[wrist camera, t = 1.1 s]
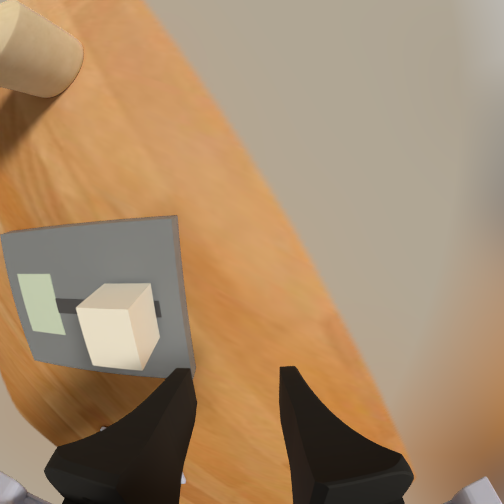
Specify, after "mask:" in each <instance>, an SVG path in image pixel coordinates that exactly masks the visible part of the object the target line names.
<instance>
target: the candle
mask: <svg viewBox="0 0 504 504" xmlns="http://www.w3.org/2000/svg"><path fill="white" fill-rule="evenodd" d="M83 57H84V50H83V46H82V44H81V43H80V41H79V40H78V39H76V38H75V37H74V36H72V35H71V34H69V33H68V32H66V31H65V30H63V29H62V28H60V27H59V26H57V25H56V24H54V23H53V22H51V21H50V20H48V19H46V18H45V17H43V16H42V15H40V14H38V13H37V12H35V11H34V10H32V9H30V8H29V7H27V6H25V5H24V4H22V3H20V2H18V1H17V0H8V1H5V2H3V3H1V4H0V87H3V88H7V89H11V90H15V91H19V92H23V93H26V94H30V95H34V96H38V97H42V98H49V97H54V96H56V95H58V94H60V93H61V92H63V91H64V90H65V89H66V88H67V87H68V86H69V85H70V84H71V83H72V82H73V81H74V79H75V78H76V76H77V74H78V73H79V70H80V68H81V66H82V62H83Z"/></svg>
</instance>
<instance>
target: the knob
mask: <svg viewBox="0 0 504 504" xmlns="http://www.w3.org/2000/svg"><path fill="white" fill-rule="evenodd" d="M76 311H77V315H78V318H79V322H80V326H81V329H82V333H83V336H84V339H85V343H86V346H87V349H88V352H89V355H90V358H91V361H92V364H93V365H94V366H102V367H110V368H119V369H129V370H140V371H143V369H144V367H145V365H146V363H147V361H148V359H149V357H150V355H151V354H152V352H153V350H154V348H155V346H156V344H157V342H158V340H159V338H160V335H159V329H158V324H157V319H156V313H155V307H154V301H153V295H152V289H151V283H121V284H103V285H102V286H101V287H100V288H98V289H97V290H96V291H95V292H93V293H92V294H91V295H90V296H89V297H87V298H86V299H85V300H84V301H83V302H82V303H80V304H79V305H78V306H77V307H76Z"/></svg>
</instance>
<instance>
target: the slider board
mask: <svg viewBox="0 0 504 504" xmlns="http://www.w3.org/2000/svg"><path fill="white" fill-rule="evenodd" d="M0 236H1V242H2V248H3V254H4V259H5V264H6V269H7V273H8V277H9V282H10V286H11V290H12V294H13V297H14V301H15V304H16V308H17V311H18V315H19V318H20V321H21V324H22V327H23V330H24V333H25V336H26V339H27V341H28V344H29V347H30V350H31V352H32V355H33V357H34V360H36V361H41V362H46V363H51V364H56V365H61V366H67V367H72V368H78V369H85V370H92V371H99V372H106V373H114V374H123V375H133V376H144V377H157V378H167V377H168V376H169V375H170V374H171V373H172V372H173V371H174V370H175V369H176V368H190V369H191V374H192V379H193V377H194V373H195V370H196V365H195V359H194V353H193V346H192V340H191V333H190V326H189V319H188V312H187V304H186V296H185V288H184V280H183V271H182V261H181V251H180V241H179V229H178V217H177V215H174V216H159V217H145V218H132V219H120V220H108V221H97V222H87V223H77V224H67V225H58V226H49V227H40V228H32V229H23V230H16V231H10V232H7V233H4V234H1V235H0ZM121 283H151V289H152V295H153V301H154V307H155V313H156V319H157V324H158V329H159V335H160V338H159V340H158V342H157V344H156V346H155V348H154V350H153V352H152V354H151V355H150V357H149V359H148V361H147V363H146V365H145V367H144V369H143V371H140V370H129V369H119V368H110V367H102V366H94V365H93V364H92V361H91V358H90V355H89V352H88V349H87V346H86V343H85V339H84V336H83V333H82V329H81V326H80V322H79V318H78V315H77V311H76V307H77V306H78V305H79V304H80V303H82V302H83V301H84V300H85V299H86V298H87V297H89V296H90V295H91V294H92V293H93V292H95V291H96V290H97V289H98V288H100V287H101V286H102V285H103V284H121Z"/></svg>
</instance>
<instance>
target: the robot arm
mask: <svg viewBox="0 0 504 504" xmlns="http://www.w3.org/2000/svg"><path fill="white" fill-rule="evenodd" d="M279 406H280V418H281V425H282V430H283V435H284V440H285V444H286V449H287V454H288V459H289V464H290V470H291V481H292V493H293V504H404V500H403V498H402V496H403V495H404V493H405V492H406V491H407V490H408V488H409V487H410V485H411V483H412V481H413V479H414V475H413V473H412V471H411V468H410V466H409V465H408V463H407V461H406V460H405V459H404V457H403V456H402V454H400V453H397V452H395V451H392V450H390V449H387V448H385V447H382V446H380V445H378V444H376V443H374V442H372V441H370V440H368V439H367V438H365V437H364V436H362V435H360V434H359V433H357V432H356V431H354V430H353V429H351V428H350V427H349V426H347V425H346V424H345V423H343V422H342V421H341V420H340V419H339V418H337V417H336V416H335V415H334V414H333V413H332V412H331V411H330V410H329V409H328V408H327V407H326V406H325V405H324V404H323V403H322V402H321V401H320V400H319V398H318V397H317V396H316V395H315V394H314V392H313V391H312V390H311V389H310V387H309V386H308V385H307V383H306V382H305V380H304V379H303V377H302V376H301V374H300V373H299V371H298V369H297V368H296V367H295V366H287V367H280V384H279ZM196 407H197V400H196V395H195V390H194V385H193V380H192V374H191V369H190V368H176V369H175V370H174V371H173V372H172V373H171V374H170V375H169V376H168V377H167V378H166V379H165V381H164V382H163V383H162V384H161V385H160V386H159V387H158V388H157V389H156V390H155V391H154V392H153V393H152V394H151V395H150V396H149V397H148V398H147V399H146V400H145V401H143V402H142V403H141V404H140V405H139V406H138V407H137V408H136V409H134V410H133V411H132V412H131V413H129V414H128V415H126V416H125V417H124V418H122V419H121V420H119V421H118V422H116V423H114V424H112V425H111V426H109V427H101V429H100V432H98V433H96V434H93V435H91V436H89V437H86V438H84V439H81V440H79V441H76V442H72V443H69V444H66V445H62V446H58V447H57V449H56V450H55V452H54V454H53V455H52V457H51V459H50V460H49V462H48V464H47V466H46V467H45V470H44V472H45V475H46V477H47V479H48V480H49V482H50V483H51V484H52V485H53V486H54V487H55V488H56V489H57V490H58V492H59V493H60V494H61V495H62V496H63V497H64V501H63V503H62V504H179V497H180V487H181V484H184V483H186V479H185V477H184V474H183V472H182V471H183V466H184V461H185V457H186V453H187V450H188V446H189V442H190V438H191V435H192V431H193V427H194V423H195V416H196ZM0 504H51V503H49V502H47V501H45V500H43V499H41V498H39V497H37V496H34V495H33V494H30V493H29V492H27V490H26V489H25V488H24V487H23V486H22V485H21V484H20V483H19V482H18V481H16V480H15V479H13V478H11V477H10V476H8V475H6V474H4V473H3V472H1V471H0ZM443 504H502V502H501V500H500V499H499V497H498V495H497V494H496V492H495V490H494V489H493V487H492V485H491V483H490V482H489V480H488V478H487V477H483V478H481V479H479V480H477V481H475V482H473V483H472V484H470V485H468V486H466V487H464V488H462V489H461V490H460V491H458V492H457V493H456V494H455V495H454V497H453V498H452V500H450V501H448V502H446V503H443Z"/></svg>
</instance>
